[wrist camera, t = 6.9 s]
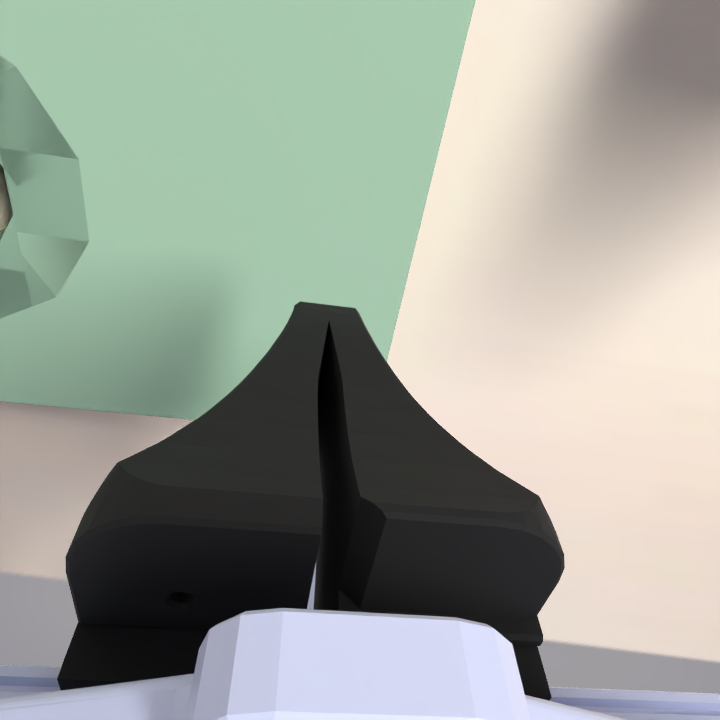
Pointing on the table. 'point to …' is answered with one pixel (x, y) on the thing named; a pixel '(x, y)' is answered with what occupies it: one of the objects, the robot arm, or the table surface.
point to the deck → (206, 184)
